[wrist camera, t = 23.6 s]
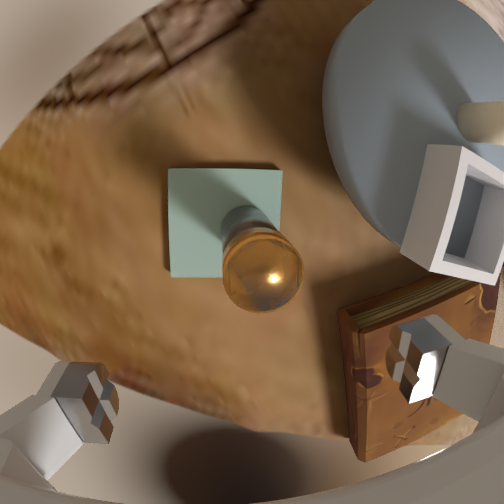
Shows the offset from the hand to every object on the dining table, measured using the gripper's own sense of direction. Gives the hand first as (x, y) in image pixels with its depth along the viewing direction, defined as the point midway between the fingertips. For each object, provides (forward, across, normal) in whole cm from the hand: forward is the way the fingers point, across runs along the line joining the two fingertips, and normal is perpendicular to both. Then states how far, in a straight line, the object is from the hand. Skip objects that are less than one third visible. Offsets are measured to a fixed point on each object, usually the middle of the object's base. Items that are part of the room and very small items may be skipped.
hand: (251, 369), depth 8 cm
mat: (+19, 0, 0) cm, 19 cm away
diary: (+20, +20, -20) cm, 35 cm away
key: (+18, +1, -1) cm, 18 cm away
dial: (+14, +18, +7) cm, 24 cm away
